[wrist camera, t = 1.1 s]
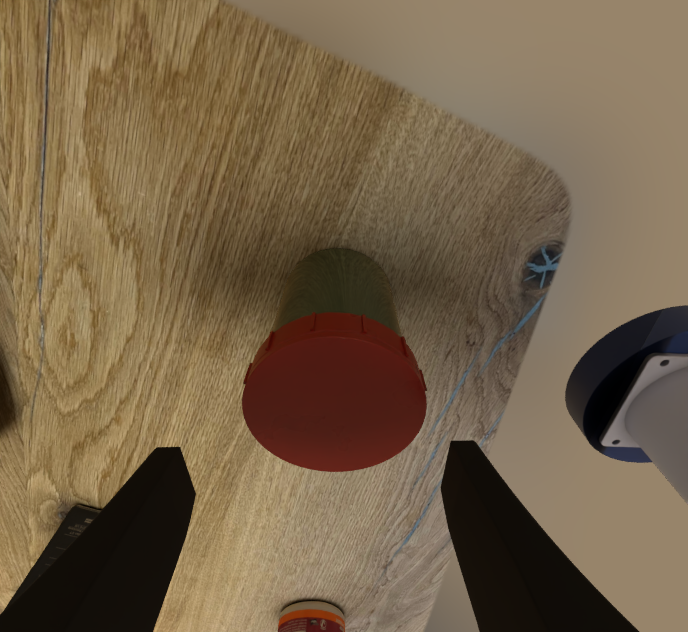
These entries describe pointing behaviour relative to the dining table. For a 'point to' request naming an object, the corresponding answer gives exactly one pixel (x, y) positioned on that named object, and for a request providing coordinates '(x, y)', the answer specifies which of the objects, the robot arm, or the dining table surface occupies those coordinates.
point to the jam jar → (338, 289)
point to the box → (59, 543)
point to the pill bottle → (311, 618)
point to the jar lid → (334, 393)
